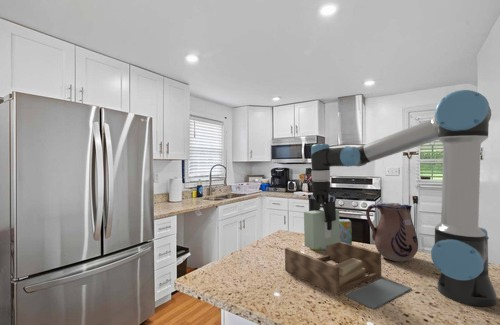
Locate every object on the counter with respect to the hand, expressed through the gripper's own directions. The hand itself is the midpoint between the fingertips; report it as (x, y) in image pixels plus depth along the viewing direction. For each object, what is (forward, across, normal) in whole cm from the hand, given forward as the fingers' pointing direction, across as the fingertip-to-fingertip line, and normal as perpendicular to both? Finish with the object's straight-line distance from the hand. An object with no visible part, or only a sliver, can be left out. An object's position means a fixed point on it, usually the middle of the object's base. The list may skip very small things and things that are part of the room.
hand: (322, 236), depth 110 cm
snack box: (+14, +17, -24) cm, 32 cm away
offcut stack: (+14, -12, 0) cm, 18 cm away
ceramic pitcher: (+14, -9, -36) cm, 40 cm away
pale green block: (+3, 0, 0) cm, 3 cm away
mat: (+14, -24, 0) cm, 28 cm away
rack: (+14, -4, 0) cm, 15 cm away
